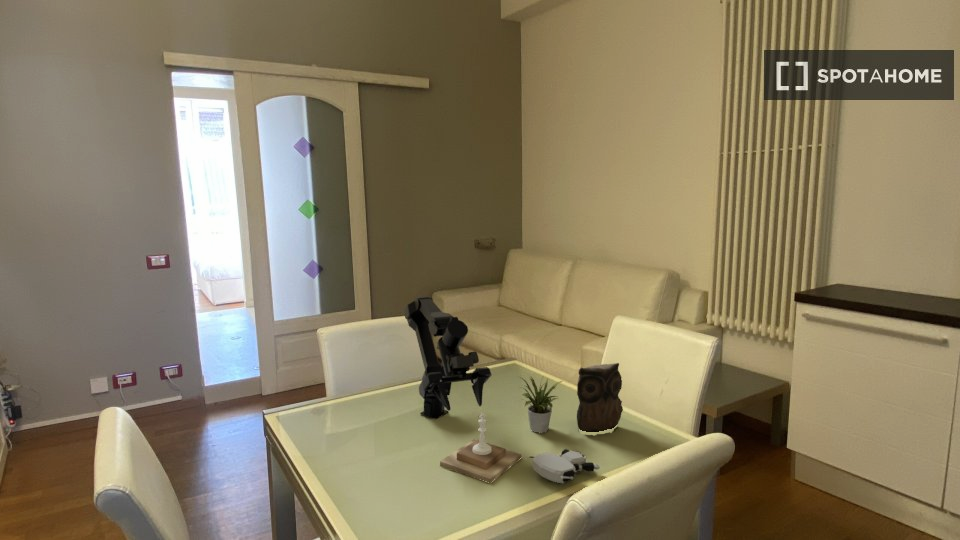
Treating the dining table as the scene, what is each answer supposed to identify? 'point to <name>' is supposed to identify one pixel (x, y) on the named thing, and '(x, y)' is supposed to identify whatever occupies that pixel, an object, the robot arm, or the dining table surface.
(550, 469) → the robot toy
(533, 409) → the house plant
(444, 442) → the dining table surface
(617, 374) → the owl
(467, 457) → the pedestal
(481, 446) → the chess piece
